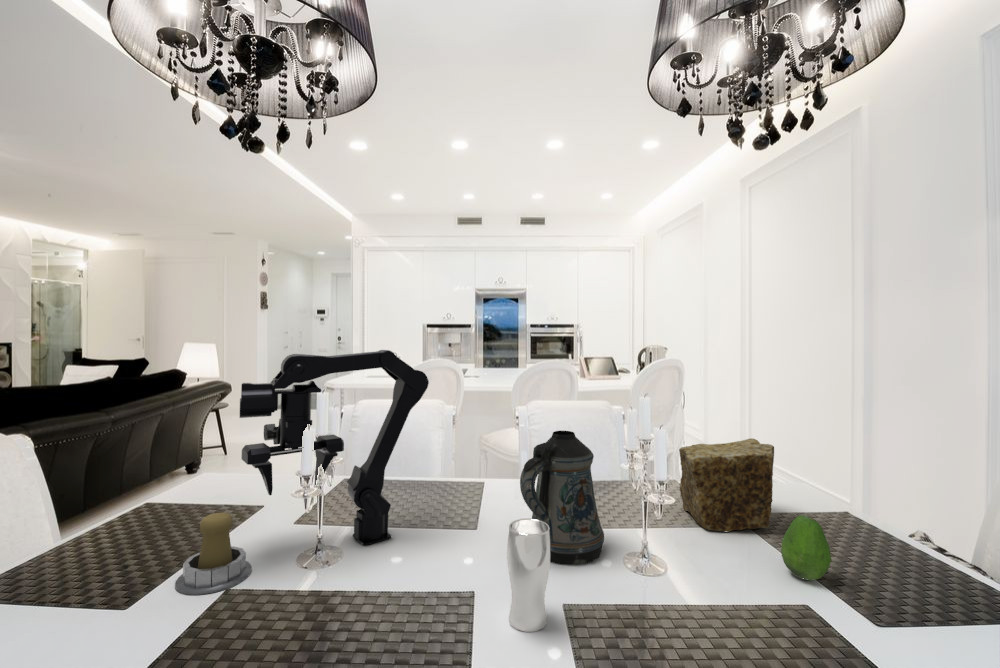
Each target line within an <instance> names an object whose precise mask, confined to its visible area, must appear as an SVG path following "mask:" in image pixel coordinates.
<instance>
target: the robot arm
mask: <svg viewBox="0 0 1000 668" xmlns="http://www.w3.org/2000/svg"><path fill="white" fill-rule="evenodd" d="M380 368H381V369H382V370H384V372H385V373H386V374H387V375H388V376H389V377H391V378H392V379H393V380H394V381H395V382H394V386H393V392H392V401H391V402H392V403H391V405H390V407H389V409H388V412H387V414H386V415H385V416H386V417H385V419H384V420H383V423H382V425H381V428H380V429H379V432H378V434H377V436H376V439H375V441H374V443H373V446H372V448H371V450H370V452H369V454H368V457H367V458H366V461H365V462H364V463H363V464H362V465H361V466H360V467H359V465H358V466H357V465H354V466H353V469H352V472H351V475H350V477H349V479H347V480H346V483H347V484H348V486H347V493H348V496H349V497H350V499H351V500H352V502H353V503H354V505H355V506H357V508H360V509H357V510H356V515H355V516H356V517H355V518H354V519H353V533H352V537H353V538H354V539H355V540H357V541H358V542H359V543H360V544H361V545H363V546H368V545H371V544H375V543H378V542H381V541H386V540H389V539H391V538H392V534H390V533H389V512H390V509H391V506H392V505H391V503H390V502H389V501H388V500H387V499H386V498H385V497H384V496H383V494H382V491H383V488H384V484H385V482H384V481H385V470H386V467H387V465H388V462H389V460H390V458H391V455H392V454H393V451H394V449H395V446H396V445H397V442H398V439H399V438H400V435H401V433H402V430H403V428H404V426H405V423H406V421H407V418H408V417H409V414H410V412H411V410H412V409H413V408H414V407H415V406H416V405H417V404H418V403H419V402H420V401H421V399H422V397H423V396H424V394H425V392H426V391H427V389H428V387H429V383H430V382H429V378H428V376H427V374H426V373H425V372H423V371H422V370H419V369H415V368H413V367H412V366H411V365H409V364H408V363H406V362H405V361H404V360H403V359H401V358H400V357H398V355H396V354H395V353H394V352H393V351H392V350H389V349H387V350H386V349H380V350H377V351H368V352H357V353H348V354H338V355H337V354H335V355H316V354H306V353H305V354H304V353H302V354H301V353H292V354H289V355H287V356H286V357H285V358H284V359H283V360H282V362H281V363H280V371H279V372H278V373H277V374H276V375H275V377H273V378H272V381H270V382H268V383H267V382H266V383H264V382H263V383H252V382H242V383H241V390H240V391H241V392H240V398H239V419H247V418H262V417H272V415H273V413H275V412H276V411H278V409H279V408H278V407H279V395H280V418H279V421H278V426H276V423H267V424H264V426H263V440H264V441H273V445H275V446H269V445H268V444H266V443H264V442H262V443H261V442H260V443H253V444H245V445H244V447H243V448H241V460H242V461H243V462H244V463H245V464H246V465H249V466H252V467H253V468H254V469H258V471H259V473H260V475H261V477H262V480H263V483H264V486H265V489H266V492H267V494H268V495H269V496H272V495H273V488H274V486H273V463H272V462H271V461H269V460H270V459H271V457H275V456H277V457H278V456H284V455H290V454H297V453H303V452H302V448H303V447H302V436H303V431H304V430H305V428H306V427H307V424H310V426H313V420H312V419H311V418H312V417H311V413H312V394H314V393H321V392H322V389H321V388H320V387H319V386H318V385H317V384H316V382H315V381H313V380H316V379H319V378H322V377H325V376H327V375H331V374H337V373H346V372H354V371H356V372H357V371H363V370H372V369H373V370H374V369H380ZM305 382H308V383H307V384H306V383H305ZM295 383H296V384H295ZM302 383H303V384H302ZM304 383H305V384H304ZM291 385H292V388H290V389H286V388H288V387H289V386H291ZM313 451H314V453H315V459H316V461H315V472H314V485H316V480H317V475H318V467H319V466H320V464H322V467H323V469H324V474H325V472H326V470H327V469H328V468H329V467H328V466H329V465H330V464H331V462H332V461H333V458H334V457H338V454H339V452H344V451H345V442H344V439H343V438H342V437H340V436H337V435H335V434H328V435H327V434H326V435H318V436H317V438H316V440H314V450H313Z"/></svg>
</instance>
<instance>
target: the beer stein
mask: <svg viewBox="0 0 1000 668" xmlns="http://www.w3.org/2000/svg"><path fill="white" fill-rule="evenodd" d="M575 434H576V433H575V432H574V431H570V430H555V431H553V432H552V435H551V437H550V438H549V439H547V441H545V442H543V443H539V444H537V445H535V446H534V448H533V451H532V453H533V455H532V458H529V459H528V460H527V461H526V463H524V465H523V469H522V471H521V474H520V477H519V484H520V485H519V486H520V493H521V496H522V499H523V500H524V503H525V504H526V505H527V507H528V508H529V511H531V512H532V515H531V519H537V520H541V521H543V522H545V523H547V524H548V525H549V527H550V543H551V560H550V563H552V562H553V564H558V565H563V566H565V565H567V566H578V565H579V566H580V565H587V564H589V563H592V562H593V563H594V562H595V560H597V559H599V558H600V557H601V555H602V553H603V547H604V543H605V533H604V530H603V527H602V525H601V522H600V517H599V514H598V508H597V503H596V497H595V491H594V489H595V488H594V485H593V484H594V482H593V475H592V468H591V467H592V464H593V461H594V453H593V451H592V450H591V449H590V448H589V447H588V446H586V444H584V443H583V442H582V441H581V440H580V439H579V438H578V437H576V435H575ZM536 480H537V482H536ZM535 486H536V487H535Z"/></svg>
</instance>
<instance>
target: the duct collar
mask: <svg viewBox="0 0 1000 668" xmlns="http://www.w3.org/2000/svg"><path fill="white" fill-rule="evenodd" d="M231 552H232V559H233V561H232V562H231V563H229V564H227V565H223V566H219V567H216V568H210V569H197V568H198V562H199V556H200V552H198V553H195V554H193V555H191V556H189V557H188V558H187V559H186V560H185V561H184V562H183V566H182V574H181V575H179V576H178V578H177V579H176V580H175V582H174V583H175V584H174V587H175V590H176V591H177V592H178V593H180V594H182V595H188V596H203V595H210V594H215V593H218V592H222V591H225V590H228V589H231V588H233V587H235V586H237V585H240V584H241V583H243V582H244V581H245V580H246V579H248V577H249V576H250V575H251V574H252V570H253V569H252V564H251V563H250V562H249V561H247V560H246V559H247V557H246V555H247V552H246V551H245V549H244V548H242V547H238V546H234V545H233V546H232V545H231Z"/></svg>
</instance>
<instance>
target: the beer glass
mask: <svg viewBox="0 0 1000 668" xmlns="http://www.w3.org/2000/svg"><path fill="white" fill-rule="evenodd" d="M507 534H508V535H507V550H506V551H507V552H506V554H507V555H506V556H507V557H506V559H507V570H508V576H509V583H510V590H511V604H510V609H509V615H508V622H509V624H510V625H511V626H512V627H513V628H514V629H516V630H518V631H521V632H525V633H535V632H538V631H541V630H543V629H544V628H545V627H546V625H547V622H548V617H547V609H546V603H545V602H546V599H545V598H546V591H547V584H548V581H549V574H550V568H551V567H550V566H551V562H550V560H551V543H550V527H549V525H548V524H547V523H545V522H543V521H541V520H537V519H532V518H519V519H515V520H513V521H511V522H510V523H509V525H508V533H507Z"/></svg>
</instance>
